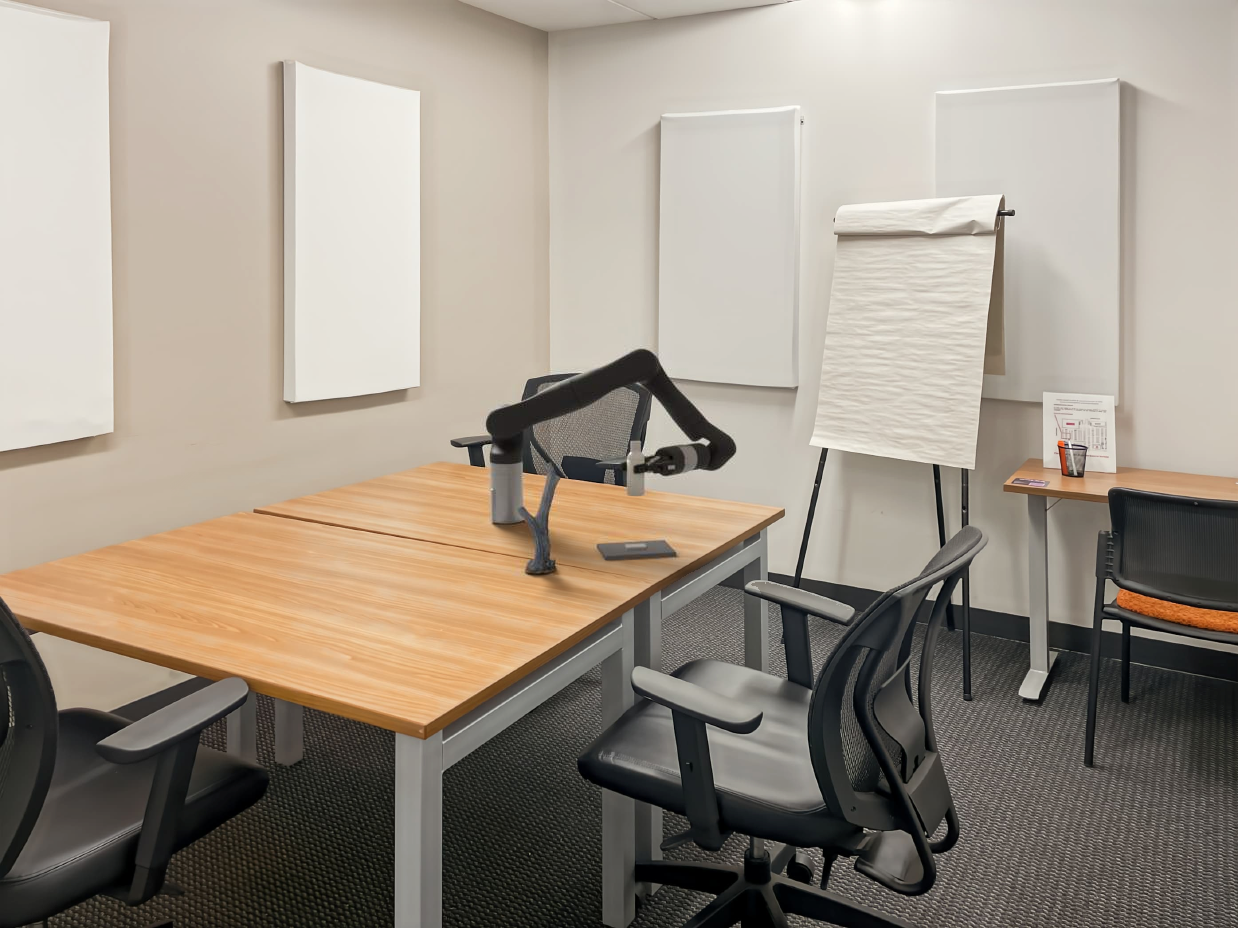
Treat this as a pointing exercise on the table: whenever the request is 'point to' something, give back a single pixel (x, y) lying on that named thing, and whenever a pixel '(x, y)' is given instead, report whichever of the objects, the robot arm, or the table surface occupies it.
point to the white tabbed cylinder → (633, 480)
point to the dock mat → (635, 549)
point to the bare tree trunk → (542, 526)
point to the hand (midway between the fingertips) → (627, 468)
